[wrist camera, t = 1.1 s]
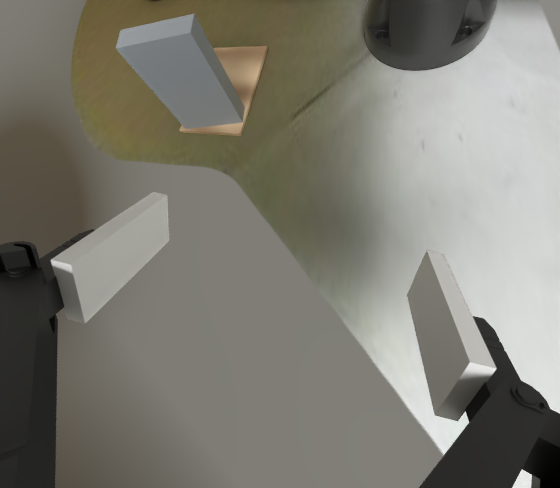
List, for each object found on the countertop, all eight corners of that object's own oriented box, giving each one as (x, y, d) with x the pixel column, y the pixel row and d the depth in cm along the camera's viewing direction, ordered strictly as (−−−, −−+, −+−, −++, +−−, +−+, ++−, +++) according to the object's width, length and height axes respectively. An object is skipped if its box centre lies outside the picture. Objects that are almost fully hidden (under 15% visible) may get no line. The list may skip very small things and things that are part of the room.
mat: (210, 50, 51) (209, 48, 51) (268, 48, 48) (267, 46, 48) (181, 132, 48) (179, 130, 48) (241, 135, 45) (240, 133, 44)
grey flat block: (242, 122, 45) (190, 32, 32) (185, 129, 47) (115, 48, 34) (244, 105, 46) (194, 11, 33) (188, 113, 48) (121, 28, 35)
